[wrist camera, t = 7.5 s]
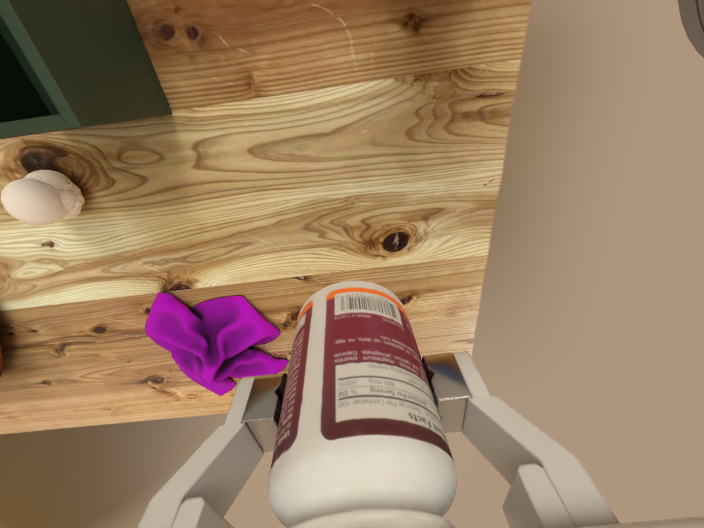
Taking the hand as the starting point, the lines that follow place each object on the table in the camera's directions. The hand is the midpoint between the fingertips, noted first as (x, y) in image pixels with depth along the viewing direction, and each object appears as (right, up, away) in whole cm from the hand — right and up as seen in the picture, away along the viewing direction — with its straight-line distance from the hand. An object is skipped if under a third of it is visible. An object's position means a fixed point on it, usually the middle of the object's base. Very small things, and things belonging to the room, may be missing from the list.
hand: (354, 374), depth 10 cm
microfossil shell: (-29, +11, +19) cm, 36 cm away
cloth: (-19, -8, +31) cm, 38 cm away
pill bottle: (0, +2, +3) cm, 3 cm away
